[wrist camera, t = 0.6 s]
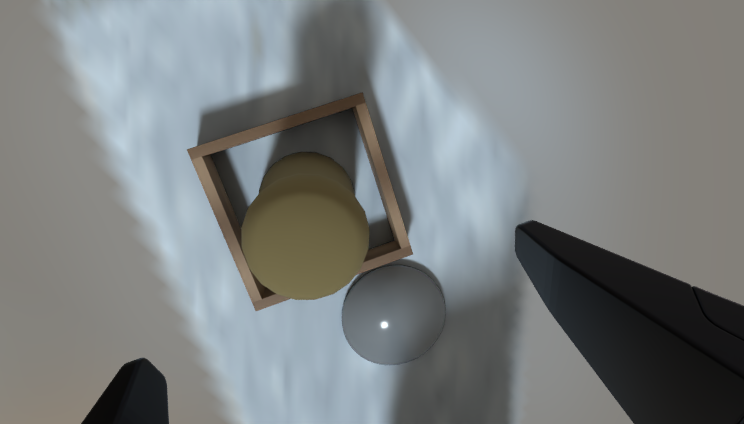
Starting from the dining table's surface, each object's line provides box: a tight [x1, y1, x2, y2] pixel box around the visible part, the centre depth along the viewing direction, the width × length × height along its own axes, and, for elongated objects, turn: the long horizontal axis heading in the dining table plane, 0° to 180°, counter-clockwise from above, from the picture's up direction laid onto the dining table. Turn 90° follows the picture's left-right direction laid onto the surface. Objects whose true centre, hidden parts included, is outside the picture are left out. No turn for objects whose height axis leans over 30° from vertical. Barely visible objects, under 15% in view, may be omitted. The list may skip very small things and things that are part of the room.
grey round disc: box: [342, 265, 445, 365], centre depth 28 cm, size 7×7×1 cm
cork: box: [241, 152, 370, 300], centre depth 21 cm, size 6×6×11 cm
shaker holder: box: [187, 92, 413, 311], centre depth 25 cm, size 10×10×2 cm
